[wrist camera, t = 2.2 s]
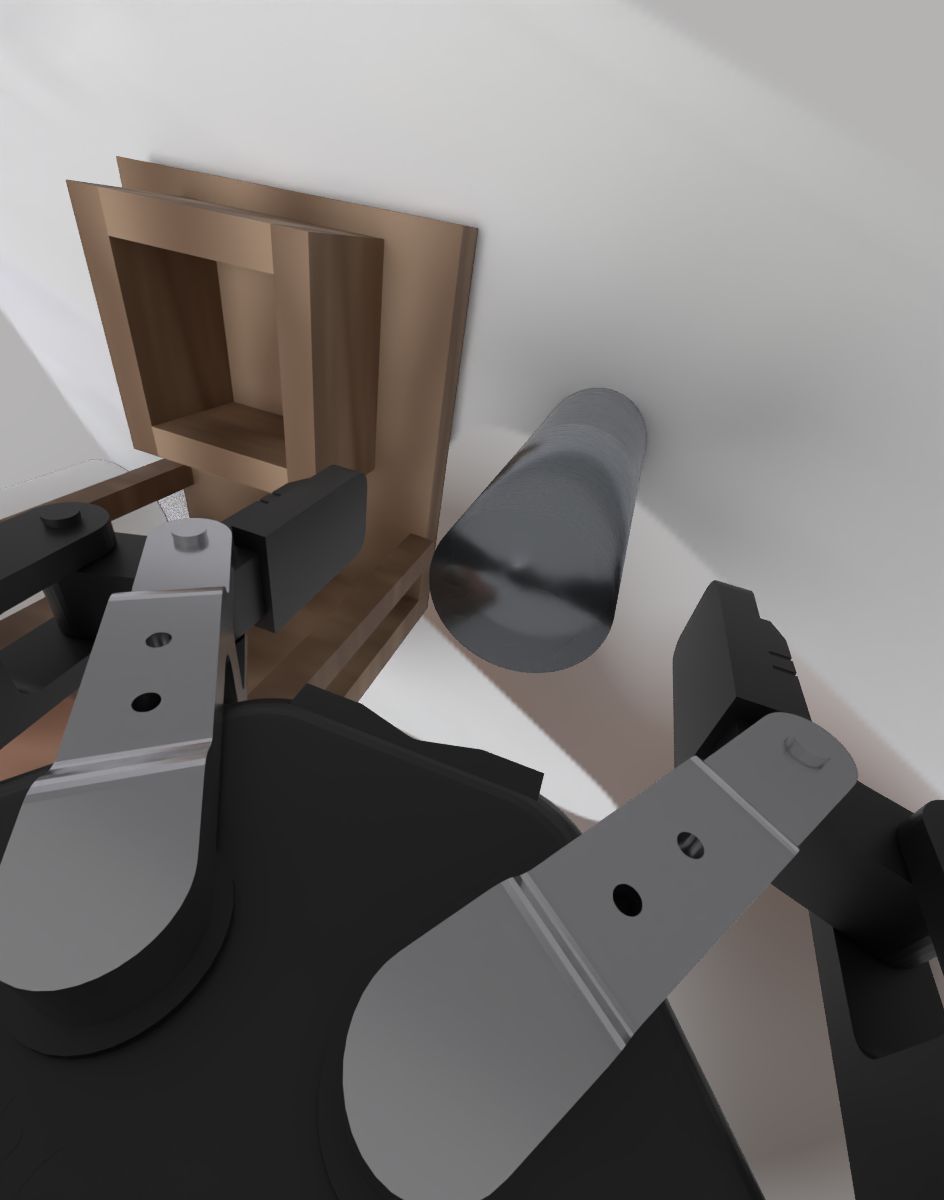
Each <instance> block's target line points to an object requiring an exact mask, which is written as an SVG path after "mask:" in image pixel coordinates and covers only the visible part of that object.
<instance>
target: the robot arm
mask: <svg viewBox="0 0 944 1200" xmlns="http://www.w3.org/2000/svg"><path fill="white" fill-rule="evenodd" d="M366 511H367V478H366V476H365V474H363V473H361V472H358V471H354V470H351V469H348V468H344V467H341V466H338V465H331V466H329V467H327V468H325V469H324V470H322V471H321V472H319V473H317V474H316V475H314V476H312V477H311V478H306V479H302V480H298V481H294V482H290V483H287V484H285V485H283V486H282V487H280V488H278V489H276V490H275V491H273V492H272V494H268V495H266V496H264V497H263V498H261V499H260V501H256V502H254V503H252V504H251V505H249V506H247V507H245V508H244V509H242V510H240V511H239V512H237V513H235V514H233V515H232V516H230V517H228V518H227V519H225V520H223V521H221V522H218V521H215V520H210V519H204V518H186V519H178V520H174V521H170V522H167V523H164V524H162V525H160V526H158V527H156V528H154V529H153V530H152V531H151V532H150V533H149V534H148V536H144V535H136V534H127V533H119V532H114V529H113V526H112V523H111V520H110V516H109V514H108V512H107V511H106V510H105V509H104V508H102V507H100V506H97V505H94V504H90V503H83V502H63V503H54V504H49V505H44V506H40V507H37V508H34V509H31V510H29V511H26V512H24V513H22V514H19V515H17V516H15V517H12V518H10V519H8V520H5V521H3V522H1V523H0V615H1V614H3V613H4V612H6V611H7V610H9V609H11V608H13V607H14V606H16V605H18V604H20V603H21V602H23V601H25V600H27V599H28V598H30V597H32V596H34V595H35V594H37V593H39V592H41V591H42V590H43V593H44V595H45V597H46V599H47V602H48V604H49V606H50V608H51V611H52V613H53V615H54V617H53V618H51V619H49V620H48V621H46V622H45V623H43V624H41V625H40V626H38V627H37V628H35V629H33V630H32V631H30V632H29V633H27V634H26V635H24V636H22V637H21V638H19V639H18V640H16V641H14V642H13V643H11V644H10V645H8V646H7V647H5V648H3V649H2V650H0V750H1V749H2V748H3V747H5V746H6V745H7V744H8V743H10V742H11V741H12V740H13V739H15V738H16V737H17V736H19V735H20V734H21V733H22V732H24V731H25V730H26V729H27V728H29V727H30V726H31V725H33V724H34V723H35V722H36V721H38V720H39V719H40V718H41V717H43V716H44V715H45V714H46V713H48V712H49V711H50V710H52V709H53V708H54V707H55V706H57V705H58V704H59V703H60V702H62V701H63V700H64V699H65V698H67V697H68V696H69V695H71V694H72V693H73V692H74V691H76V690H77V689H78V688H79V690H78V693H77V696H76V699H75V702H74V705H73V708H72V711H71V714H70V717H69V720H68V723H67V726H66V729H65V732H64V735H63V738H62V741H61V744H60V747H59V750H58V753H57V756H56V759H55V761H54V763H52V764H49V765H46V766H43V767H40V768H37V769H34V770H31V771H29V772H26V773H23V774H20V775H17V776H14V777H11V778H8V779H5V780H2V781H0V1200H765V1198H764V1196H763V1194H762V1192H761V1190H760V1188H759V1186H758V1183H757V1181H756V1179H755V1177H754V1175H753V1173H752V1171H751V1169H750V1167H749V1165H748V1163H747V1161H746V1159H745V1157H744V1155H743V1153H742V1151H741V1149H740V1147H739V1145H738V1143H737V1140H736V1138H735V1137H734V1135H733V1132H732V1131H731V1128H730V1127H729V1124H728V1122H727V1120H726V1118H725V1116H724V1114H723V1112H722V1110H721V1108H720V1106H719V1104H718V1102H717V1100H716V1097H715V1095H714V1094H713V1091H712V1089H711V1087H710V1085H709V1083H708V1081H707V1079H706V1077H705V1075H704V1073H703V1071H702V1069H701V1067H700V1065H699V1063H698V1061H697V1059H696V1057H695V1055H694V1053H693V1050H692V1049H691V1046H690V1044H689V1042H688V1040H687V1038H686V1036H685V1034H684V1032H683V1030H682V1028H681V1026H680V1024H679V1022H678V1020H677V1018H676V1016H675V1014H674V1012H673V1010H672V1008H671V1006H670V1003H669V1001H668V999H667V998H666V997H667V996H668V995H669V994H670V993H671V992H672V991H673V990H674V988H676V986H677V985H678V984H679V983H680V982H681V981H682V980H683V979H684V978H685V976H686V975H687V974H688V973H689V972H690V971H691V970H692V969H693V968H694V967H695V965H696V964H697V963H698V962H699V961H700V960H701V959H702V958H703V957H704V956H705V954H706V953H707V952H708V951H709V950H710V949H711V948H712V947H713V946H714V944H715V943H716V942H717V941H718V940H719V939H720V938H721V937H722V936H723V935H724V934H725V932H726V931H727V930H728V929H729V928H730V927H731V926H732V925H733V924H734V923H735V921H736V920H737V919H738V918H739V917H740V916H741V915H742V914H743V913H744V911H745V910H746V909H747V908H748V907H749V906H750V905H751V904H752V903H753V901H755V899H756V898H757V897H758V896H759V895H760V894H761V893H762V892H763V891H764V889H765V888H766V887H767V886H768V885H769V884H770V883H771V884H772V885H773V886H775V887H777V888H778V889H779V890H781V891H782V892H784V893H785V894H787V895H788V896H789V897H791V898H792V899H794V900H795V901H797V902H798V903H799V904H801V905H802V906H804V907H805V908H807V909H808V910H809V916H810V921H811V928H812V934H813V941H814V947H815V952H816V959H817V965H818V971H819V977H820V983H821V990H822V996H823V1002H824V1008H825V1014H826V1021H827V1027H828V1033H829V1039H830V1045H831V1051H832V1057H833V1064H834V1070H835V1076H836V1082H837V1088H838V1094H839V1101H840V1107H841V1113H842V1119H843V1125H844V1132H845V1138H846V1144H847V1150H848V1156H849V1162H850V1169H851V1175H852V1181H853V1187H854V1193H855V1199H856V1200H944V1008H943V1005H942V1002H941V999H940V996H939V993H938V990H937V987H936V983H935V980H934V977H933V974H932V971H931V968H930V965H929V962H928V961H929V960H931V959H933V958H935V957H937V958H938V961H939V963H940V966H941V969H942V972H943V975H944V800H934V801H931V802H929V803H927V804H926V805H924V806H923V807H922V808H921V809H919V810H918V811H917V812H915V813H912V812H911V811H909V810H907V809H905V808H904V807H902V806H900V805H898V804H897V803H895V802H893V801H891V800H890V799H888V798H886V797H884V796H883V795H881V794H879V793H877V792H875V791H874V790H872V789H870V788H869V787H867V786H865V785H864V784H862V783H861V782H859V781H858V780H857V778H858V772H857V768H856V764H855V762H854V760H853V758H852V757H851V755H850V754H849V752H848V751H847V750H846V748H845V747H844V746H843V745H842V744H841V743H840V742H839V741H838V740H837V739H836V738H835V737H834V736H832V735H831V734H830V733H829V732H827V731H826V730H825V729H823V728H822V727H820V726H818V725H817V724H815V723H813V722H812V721H811V718H810V714H809V711H808V708H807V705H806V702H805V698H804V695H803V692H802V689H801V686H800V683H799V680H798V677H797V676H795V675H796V670H795V667H794V664H793V662H792V661H791V654H790V651H789V648H788V645H787V642H786V640H785V638H784V637H783V636H782V635H781V634H780V632H779V631H778V630H777V629H776V628H775V626H774V625H773V624H772V623H771V622H770V621H767V620H764V619H761V618H760V616H759V612H758V609H757V605H756V601H755V597H754V594H753V592H752V591H750V590H746V589H743V588H740V587H736V586H733V585H730V584H726V583H723V582H720V581H716V580H714V581H713V582H711V584H710V585H709V586H708V587H707V589H706V591H705V592H704V594H703V596H702V598H701V600H700V601H699V603H698V605H697V607H696V609H695V610H694V612H693V614H692V616H691V618H690V619H689V621H688V623H687V625H686V627H685V629H684V630H683V632H682V634H681V636H680V638H679V640H678V642H677V645H676V648H675V652H674V656H673V708H674V767H675V769H674V770H672V771H671V772H669V773H668V774H667V775H665V776H664V777H662V778H661V779H660V780H658V781H657V782H655V783H654V784H652V785H651V786H650V787H648V788H647V789H645V790H644V791H642V792H641V793H640V794H638V795H637V796H636V797H634V798H633V799H631V800H630V801H628V802H627V803H625V804H624V805H623V806H621V807H620V808H618V809H617V810H615V811H614V812H613V813H611V814H610V815H608V816H607V817H606V818H604V819H603V820H601V821H600V822H598V823H597V824H596V825H594V826H593V827H591V828H590V829H588V830H587V831H586V832H584V833H583V834H582V833H581V832H580V830H579V829H578V828H577V827H576V825H575V824H574V823H573V822H572V821H571V820H570V819H569V818H568V817H567V816H566V815H565V814H564V813H563V812H562V811H561V810H560V809H559V808H558V807H556V806H555V805H554V804H553V803H552V802H551V801H549V800H548V799H546V798H545V797H543V796H542V795H541V794H539V793H540V788H541V784H542V780H543V776H544V773H542V772H539V771H536V770H534V769H531V768H528V767H526V766H523V765H521V764H518V763H515V762H513V761H510V760H507V759H505V758H502V757H500V756H497V755H494V754H492V753H489V752H486V751H484V750H480V749H473V748H466V747H460V746H453V745H446V744H439V743H433V742H426V741H420V740H416V739H413V738H411V737H409V736H408V735H406V734H405V733H403V732H402V731H400V730H399V729H397V728H396V727H394V726H393V725H392V724H390V723H389V722H387V721H386V720H384V719H383V718H381V717H380V716H378V715H377V714H376V713H374V712H373V711H371V710H370V709H368V708H367V707H365V706H364V705H362V704H361V703H358V702H355V701H353V700H350V699H347V698H345V697H342V696H340V695H337V694H334V693H332V692H329V691H326V690H324V689H321V688H319V687H316V686H313V685H311V684H308V683H306V684H305V686H304V687H303V688H302V689H301V690H300V692H299V693H298V694H297V695H296V696H295V697H294V699H284V698H262V699H252V700H247V667H248V642H247V635H246V632H247V631H248V630H249V629H250V628H251V627H252V626H256V627H259V628H262V629H264V630H267V631H270V632H272V633H276V632H277V631H278V630H279V629H280V628H281V627H282V626H284V625H285V624H286V623H287V622H288V621H289V620H290V619H291V618H292V617H293V616H294V615H295V614H296V613H297V612H298V611H299V610H300V609H301V608H303V607H304V606H305V605H306V604H307V603H308V602H309V601H310V600H311V599H312V598H313V597H314V596H315V595H316V594H317V593H318V592H319V591H320V590H322V589H323V588H324V587H325V586H326V585H327V584H328V583H329V582H330V581H331V580H332V579H333V578H334V577H335V576H336V575H337V574H338V573H339V572H340V571H342V570H343V569H344V568H345V567H346V566H347V565H348V564H349V563H350V562H351V561H352V560H353V559H354V558H355V557H356V556H357V555H358V554H359V552H360V550H361V548H362V546H363V543H364V539H365V534H366Z"/></svg>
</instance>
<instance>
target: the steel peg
mask: <svg viewBox="0 0 944 1200" xmlns="http://www.w3.org/2000/svg"><path fill="white" fill-rule="evenodd" d="M645 446H646V427H645V423H644V420H643V418H642V415H641V413H640V412H639V410H638V408H637V407H636V406H635V405H634V403H633V402H631V401H630V400H629V399H628V398H627V397H625V396H624V395H622V394H620V393H618V392H616V391H613V390H610V389H604V388H590V389H585V390H581V391H579V392H576V393H574V394H572V395H570V396H569V397H567V398H566V399H565V400H563V401H562V402H561V403H560V404H559V405H558V406H557V407H556V408H555V410H554V411H553V412H552V413H551V414H550V415H549V416H548V418H547V419H546V420H545V421H544V422H543V423H542V424H541V426H540V427H539V428H538V429H537V430H536V431H535V433H534V434H533V435H532V436H531V437H530V438H529V439H528V441H527V442H526V443H525V444H524V445H523V446H522V447H521V449H520V450H519V451H518V452H517V454H515V456H514V457H513V458H512V459H511V460H510V461H509V462H508V464H507V465H506V466H505V467H504V468H503V469H502V470H501V472H500V473H499V474H498V475H497V476H496V477H495V479H494V480H493V481H492V482H491V483H490V484H489V485H488V487H487V488H486V489H485V490H484V491H483V492H482V493H481V495H480V496H479V497H478V498H477V499H476V500H475V501H474V503H473V504H472V505H471V506H470V507H469V508H468V510H467V511H466V512H465V513H464V514H463V515H462V517H461V518H460V519H459V520H458V521H457V522H456V523H455V524H454V526H453V527H452V528H451V529H450V530H449V531H448V533H447V534H446V535H445V536H444V537H443V539H442V540H441V541H440V543H439V545H438V546H437V548H436V550H435V552H434V555H433V558H432V561H431V565H430V572H429V584H430V592H431V596H432V600H433V603H434V606H435V609H436V611H437V613H438V615H439V617H440V619H441V620H442V622H443V623H444V625H445V626H446V628H447V629H448V630H449V631H450V633H451V634H452V635H453V636H454V637H455V638H456V639H457V640H458V641H459V642H460V643H461V644H462V645H463V646H464V647H466V648H467V649H468V650H469V651H471V652H472V653H474V654H475V655H477V656H479V657H480V658H482V659H484V660H486V661H488V662H490V663H493V664H495V665H497V666H500V667H503V668H506V669H510V670H514V671H519V672H527V673H528V672H529V673H545V672H554V671H558V670H563V669H566V668H568V667H571V666H574V665H576V664H578V663H580V662H582V661H583V660H585V659H586V658H587V657H589V656H590V655H592V654H593V653H594V652H595V651H596V650H597V649H598V648H599V647H600V645H601V644H602V643H603V642H604V640H605V639H606V637H607V635H608V633H609V631H610V629H611V626H612V623H613V620H614V615H615V610H616V604H617V599H618V593H619V587H620V582H621V577H622V571H623V566H624V560H625V555H626V549H627V544H628V539H629V533H630V527H631V522H632V516H633V511H634V506H635V500H636V495H637V489H638V484H639V479H640V473H641V468H642V462H643V457H644V451H645Z"/></svg>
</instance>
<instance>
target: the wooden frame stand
mask: <svg viewBox="0 0 944 1200" xmlns="http://www.w3.org/2000/svg"><path fill="white" fill-rule="evenodd" d="M116 158H117V163H118V168H119V173H120V178H121V183H122V188H121V187H114V186H107V185H100V184H93V183H86V182H79V181H72V180H66V183H67V187H68V191H69V195H70V199H71V203H72V207H73V211H74V215H75V219H76V222H77V226H78V230H79V234H80V238H81V242H82V246H83V250H84V254H85V258H86V262H87V266H88V270H89V273H90V277H91V281H92V285H93V289H94V293H95V297H96V301H97V305H98V309H99V313H100V317H101V321H102V324H103V328H104V332H105V336H106V340H107V344H108V348H109V352H110V356H111V360H112V364H113V368H114V372H115V375H116V379H117V383H118V387H119V391H120V395H121V399H122V403H123V407H124V411H125V415H126V419H127V423H128V426H129V430H130V434H131V438H132V442H133V446H134V449H137V450H140V451H143V452H146V453H149V454H153V455H156V456H159V457H162V458H164V459H162V460H159V461H156V462H154V463H151V464H148V465H146V466H143V467H140V468H138V469H135V470H132V471H130V472H127V473H124V474H121V475H119V476H116V477H113V478H111V479H108V480H105V481H103V482H100V483H97V484H95V485H92V486H89V487H86V488H84V489H81V490H78V491H76V492H73V493H70V494H68V495H65V496H62V497H60V498H57V499H54V500H52V501H49V502H46V503H43V504H41V505H38V506H35V507H33V508H30V509H27V510H25V511H22V512H19V513H17V514H14V515H11V516H8V517H6V518H3V519H0V523H1V522H3V521H5V520H8V519H10V518H12V517H15V516H17V515H19V514H22V513H24V512H26V511H29V510H31V509H34V508H37V507H40V506H44V505H49V504H54V503H63V502H83V503H90V504H94V505H97V506H100V507H102V508H104V509H105V510H106V511H107V512H108V514H109V516H110V520H111V521H113V520H115V519H117V518H120V517H122V516H124V515H126V514H129V513H131V512H133V511H135V510H138V509H140V508H142V507H144V506H146V505H149V504H151V503H153V502H155V501H158V500H160V499H162V498H164V497H167V496H169V495H171V494H173V493H175V492H178V491H180V490H182V489H184V492H185V497H186V502H187V507H188V512H189V517H190V518H204V519H210V520H215V521H218V522H221V521H223V520H225V519H227V518H228V517H230V516H232V515H233V514H235V513H237V512H239V511H240V510H242V509H244V508H245V507H247V506H249V505H251V504H252V503H254V502H256V501H260V499H261V498H263V497H264V496H266V495H268V494H272V492H273V491H275V490H276V489H278V488H280V487H282V486H283V485H285V484H287V483H290V482H294V481H298V480H302V479H306V478H311V477H312V476H314V475H316V474H317V473H319V472H321V471H322V470H324V469H325V468H327V467H329V466H331V465H338V466H341V467H344V468H348V469H351V470H354V471H358V472H361V473H363V474H365V476H366V478H367V511H366V534H365V539H364V543H363V546H362V548H361V550H360V552H359V554H358V555H357V556H356V557H355V558H354V559H353V560H352V561H351V562H350V563H349V564H348V565H347V566H346V567H345V568H344V569H343V570H342V571H340V572H339V573H338V574H337V575H336V576H335V577H334V578H333V579H332V580H331V581H330V582H329V583H328V584H327V585H326V586H325V587H324V588H323V589H322V590H320V591H319V592H318V593H317V594H316V595H315V596H314V597H313V598H312V599H311V600H310V601H309V602H308V603H307V604H306V605H305V606H304V607H303V608H301V609H300V610H299V611H298V612H297V613H296V614H295V615H294V616H293V617H292V618H291V619H290V620H289V621H288V622H287V623H286V624H285V625H284V626H282V627H281V628H280V629H279V630H278V631H277V632H276V633H272V632H270V631H267V630H264V629H262V628H259V627H256V626H252V627H251V628H250V629H249V630H248V631H247V632H246V635H247V642H248V667H247V700H252V699H262V698H284V699H294V697H295V696H296V695H297V694H298V693H299V692H300V690H301V689H302V688H303V687H304V686H305V684H306V683H308V684H311V685H313V686H316V687H319V688H321V689H324V690H326V691H329V692H332V693H334V694H337V695H340V696H342V697H345V698H347V699H350V700H353V701H355V702H358V701H359V700H360V699H361V697H362V696H363V694H364V693H365V692H366V690H367V689H368V688H369V686H370V685H371V684H372V682H373V681H374V680H375V678H376V677H377V675H378V674H379V673H380V671H381V670H382V669H383V667H384V666H385V665H386V663H387V662H388V661H389V659H390V658H391V656H392V655H393V654H394V652H395V651H396V650H397V648H398V647H399V646H400V644H401V643H402V642H403V640H404V639H405V637H406V636H407V635H408V633H409V632H410V631H411V629H412V628H413V627H414V625H415V624H416V623H417V621H418V620H419V618H420V617H421V616H422V614H423V613H424V612H425V610H426V609H427V606H428V599H429V591H430V584H429V572H430V565H431V561H432V558H433V555H434V552H435V546H436V539H437V531H438V524H439V515H440V509H441V501H442V494H443V486H444V479H445V471H446V464H447V456H448V449H449V442H450V434H451V427H452V419H453V412H454V404H455V397H456V389H457V382H458V374H459V367H460V359H461V352H462V344H463V337H464V329H465V322H466V314H467V307H468V299H469V292H470V284H471V277H472V269H473V262H474V254H475V247H476V239H477V232H478V228H474V227H469V226H464V225H459V224H454V223H449V222H444V221H439V220H434V219H429V218H424V217H419V216H414V215H409V214H404V213H399V212H394V211H389V210H384V209H379V208H374V207H369V206H364V205H359V204H354V203H349V202H344V201H339V200H334V199H329V198H324V197H319V196H314V195H309V194H304V193H299V192H294V191H289V190H284V189H279V188H274V187H269V186H264V185H259V184H254V183H249V182H244V181H239V180H234V179H229V178H224V177H219V176H214V175H209V174H204V173H199V172H194V171H189V170H184V169H179V168H174V167H169V166H164V165H159V164H154V163H149V162H144V161H139V160H134V159H129V158H124V157H119V156H116ZM53 617H54V615H53V613H52V611H51V608H50V606H49V604H48V602H47V599H46V597H44V598H42V599H40V600H39V601H37V602H35V603H33V604H31V605H29V606H27V607H25V608H23V609H21V610H19V611H17V612H16V613H14V614H12V615H10V616H8V617H6V618H4V619H2V620H0V650H2V649H3V648H5V647H7V646H8V645H10V644H11V643H13V642H14V641H16V640H18V639H19V638H21V637H22V636H24V635H26V634H27V633H29V632H30V631H32V630H33V629H35V628H37V627H38V626H40V625H41V624H43V623H45V622H46V621H48V620H49V619H51V618H53ZM78 690H79V688H78V689H77V690H76V691H74V692H73V693H72V694H71V695H69V696H68V697H67V698H65V699H64V700H63V701H62V702H60V703H59V704H58V705H57V706H55V707H54V708H53V709H52V710H50V711H49V712H48V713H46V714H45V715H44V716H43V717H41V718H40V719H39V720H38V721H36V722H35V723H34V724H33V725H31V726H30V727H29V728H27V729H26V730H25V731H24V732H22V733H21V734H20V735H19V736H17V737H16V738H15V739H13V740H12V741H11V742H10V743H8V744H7V745H6V746H5V747H3V748H2V749H1V750H0V781H2V780H5V779H8V778H11V777H14V776H17V775H20V774H23V773H26V772H29V771H31V770H34V769H37V768H40V767H43V766H46V765H49V764H52V763H54V761H55V759H56V756H57V753H58V750H59V747H60V744H61V741H62V738H63V735H64V732H65V729H66V726H67V723H68V720H69V717H70V714H71V711H72V708H73V705H74V702H75V699H76V696H77V693H78Z"/></svg>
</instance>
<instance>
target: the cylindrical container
mask: <svg viewBox="0 0 944 1200" xmlns="http://www.w3.org/2000/svg"><path fill="white" fill-rule="evenodd" d="M127 472H128V471H127V470H125V469H123V468H122V467H120V466H118V465H117V464H114V463H112V462H109V461H106V460H100V459H94V460H89V461H86V462H82V463H80V464H77V465H74V466H70V467H67V468H64V469H61V470H58V471H55V472H52V473H49V474H46V475H43V476H40V477H37V478H34V479H31V480H28V481H24V482H21V483H18V484H16V485H12V486H10V487H6V488H3V489H0V519H3V518H6V517H8V516H11V515H14V514H17V513H19V512H22V511H25V510H27V509H30V508H33V507H35V506H38V505H41V504H43V503H46V502H49V501H52V500H54V499H57V498H60V497H62V496H65V495H68V494H70V493H73V492H76V491H78V490H81V489H84V488H86V487H89V486H92V485H95V484H97V483H100V482H103V481H105V480H108V479H111V478H113V477H116V476H119V475H121V474H124V473H127ZM111 523H112V526H113V529H114V532H119V533H127V534H136V535H144V536H148V534H149V533H150V532H151V531H152V530H153V529H154V528H156V527H158V526H160V525H162V524H164V523H167V519H166V517H165V515H164V513H163V511H162V509H161V507H160V506H159V504H158V502H157V501H155V502H153V503H151V504H149V505H146V506H144V507H142V508H140V509H138V510H135V511H133V512H131V513H129V514H126V515H124V516H122V517H120V518H117V519H115V520H113V521H111ZM44 597H45V595H44V593H43V590H42V591H41V592H39V593H37V594H35V595H34V596H32V597H30V598H28V599H27V600H25V601H23V602H21V603H20V604H18V605H16V606H14V607H13V608H11V609H9V610H7V611H6V612H4V613H3V614H1V615H0V620H2V619H4V618H6V617H8V616H10V615H12V614H14V613H16V612H17V611H19V610H21V609H23V608H25V607H27V606H29V605H31V604H33V603H35V602H37V601H39V600H40V599H42V598H44Z"/></svg>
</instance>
